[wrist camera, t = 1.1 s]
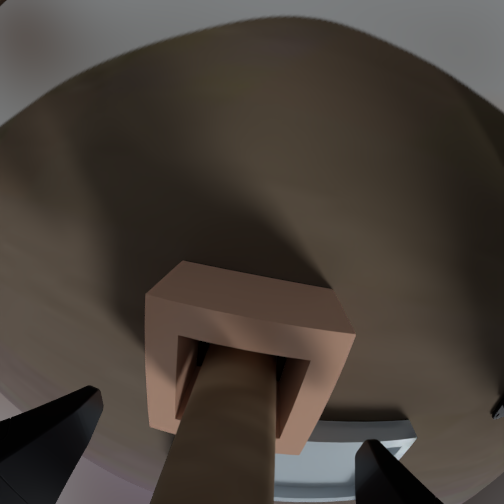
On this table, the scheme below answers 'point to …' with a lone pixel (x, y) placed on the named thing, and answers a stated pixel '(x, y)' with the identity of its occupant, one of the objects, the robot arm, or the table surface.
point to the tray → (334, 459)
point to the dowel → (225, 434)
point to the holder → (244, 341)
